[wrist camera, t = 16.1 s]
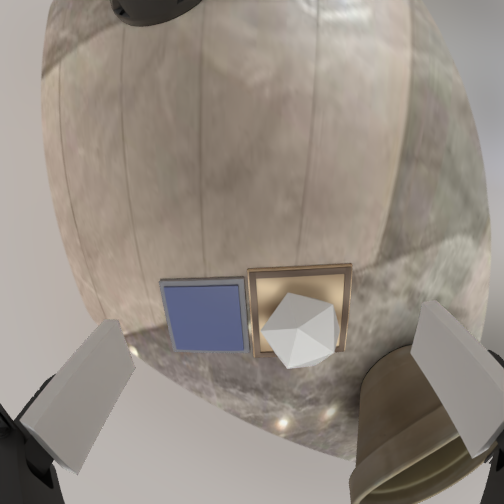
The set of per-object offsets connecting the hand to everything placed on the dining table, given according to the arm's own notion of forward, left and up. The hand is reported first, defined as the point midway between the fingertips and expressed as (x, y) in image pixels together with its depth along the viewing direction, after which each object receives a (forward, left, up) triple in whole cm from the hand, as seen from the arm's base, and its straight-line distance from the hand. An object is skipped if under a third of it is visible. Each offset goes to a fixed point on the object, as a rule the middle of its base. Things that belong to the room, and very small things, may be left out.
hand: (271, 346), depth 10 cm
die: (+11, +4, -22) cm, 25 cm away
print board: (+11, +4, -23) cm, 25 cm away
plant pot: (+26, +21, -23) cm, 40 cm away
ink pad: (+11, -9, -23) cm, 26 cm away
